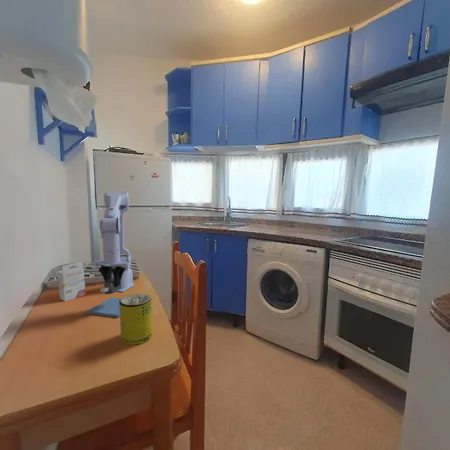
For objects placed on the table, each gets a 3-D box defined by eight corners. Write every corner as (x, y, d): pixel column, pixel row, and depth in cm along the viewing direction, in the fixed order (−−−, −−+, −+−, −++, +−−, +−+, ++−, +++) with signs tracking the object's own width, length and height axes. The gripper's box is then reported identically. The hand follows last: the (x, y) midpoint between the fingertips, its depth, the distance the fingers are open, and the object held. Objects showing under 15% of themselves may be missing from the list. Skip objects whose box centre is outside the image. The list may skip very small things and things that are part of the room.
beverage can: (151, 327, 86) (149, 292, 85) (153, 342, 78) (152, 302, 76) (121, 332, 83) (119, 295, 82) (120, 347, 75) (118, 307, 73)
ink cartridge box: (80, 292, 116) (78, 260, 115) (85, 295, 113) (83, 261, 112) (59, 298, 110) (56, 264, 108) (64, 301, 107) (61, 266, 105)
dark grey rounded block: (115, 286, 104) (115, 276, 103) (123, 287, 103) (122, 277, 103) (99, 295, 95) (98, 284, 94) (106, 296, 94) (106, 285, 94)
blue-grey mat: (110, 299, 109) (110, 297, 109) (139, 303, 105) (138, 300, 105) (87, 313, 96) (87, 310, 96) (118, 317, 93) (118, 315, 93)
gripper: (87, 251, 96) (89, 287, 98) (121, 253, 93) (123, 290, 94) (100, 247, 103) (102, 281, 105) (133, 249, 99) (134, 284, 101)
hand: (113, 285), depth 100 cm, fingers closed on dark grey rounded block, 3 cm apart
